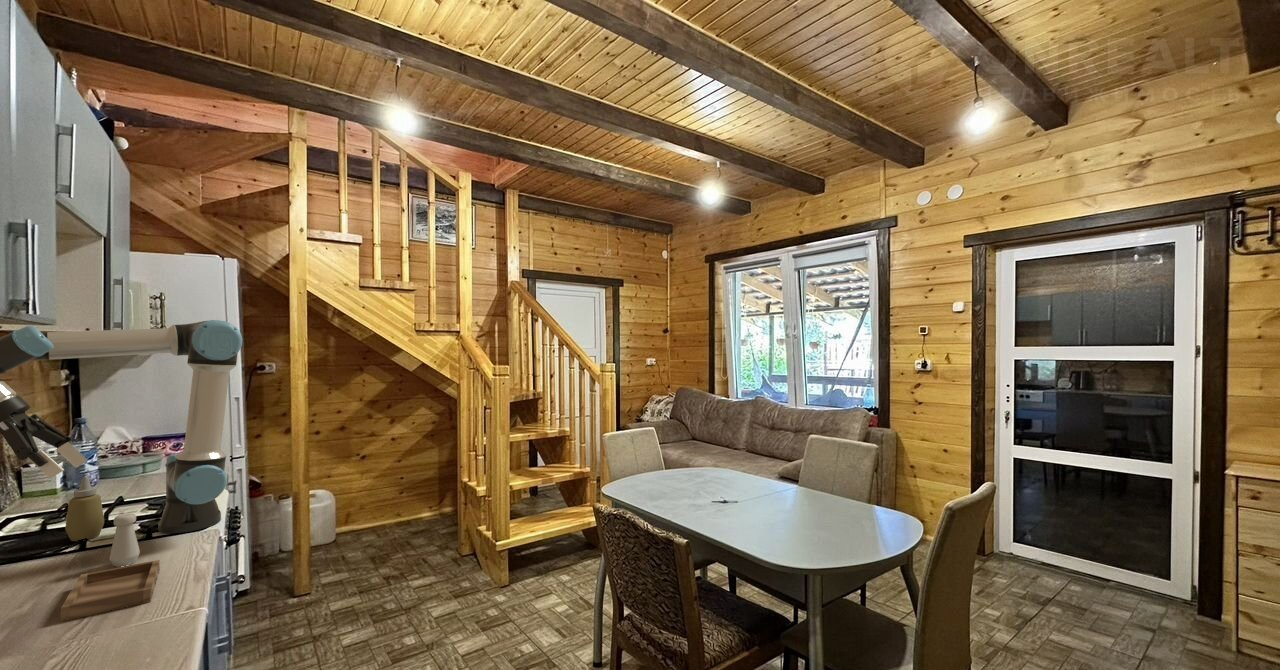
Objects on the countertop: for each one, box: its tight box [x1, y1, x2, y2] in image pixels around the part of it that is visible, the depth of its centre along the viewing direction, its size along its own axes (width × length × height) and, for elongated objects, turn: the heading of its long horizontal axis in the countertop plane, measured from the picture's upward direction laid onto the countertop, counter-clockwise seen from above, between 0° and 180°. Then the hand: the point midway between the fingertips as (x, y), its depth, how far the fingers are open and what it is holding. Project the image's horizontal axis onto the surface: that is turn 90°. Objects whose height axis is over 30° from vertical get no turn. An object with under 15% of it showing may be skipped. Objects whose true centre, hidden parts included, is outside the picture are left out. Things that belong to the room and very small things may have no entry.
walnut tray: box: [60, 559, 161, 623], centre depth 125 cm, size 19×14×3 cm
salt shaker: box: [109, 512, 141, 568], centre depth 141 cm, size 6×6×13 cm
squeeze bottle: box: [64, 476, 105, 542], centre depth 157 cm, size 8×8×18 cm
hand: (70, 469), depth 135 cm, fingers open, 13 cm apart
